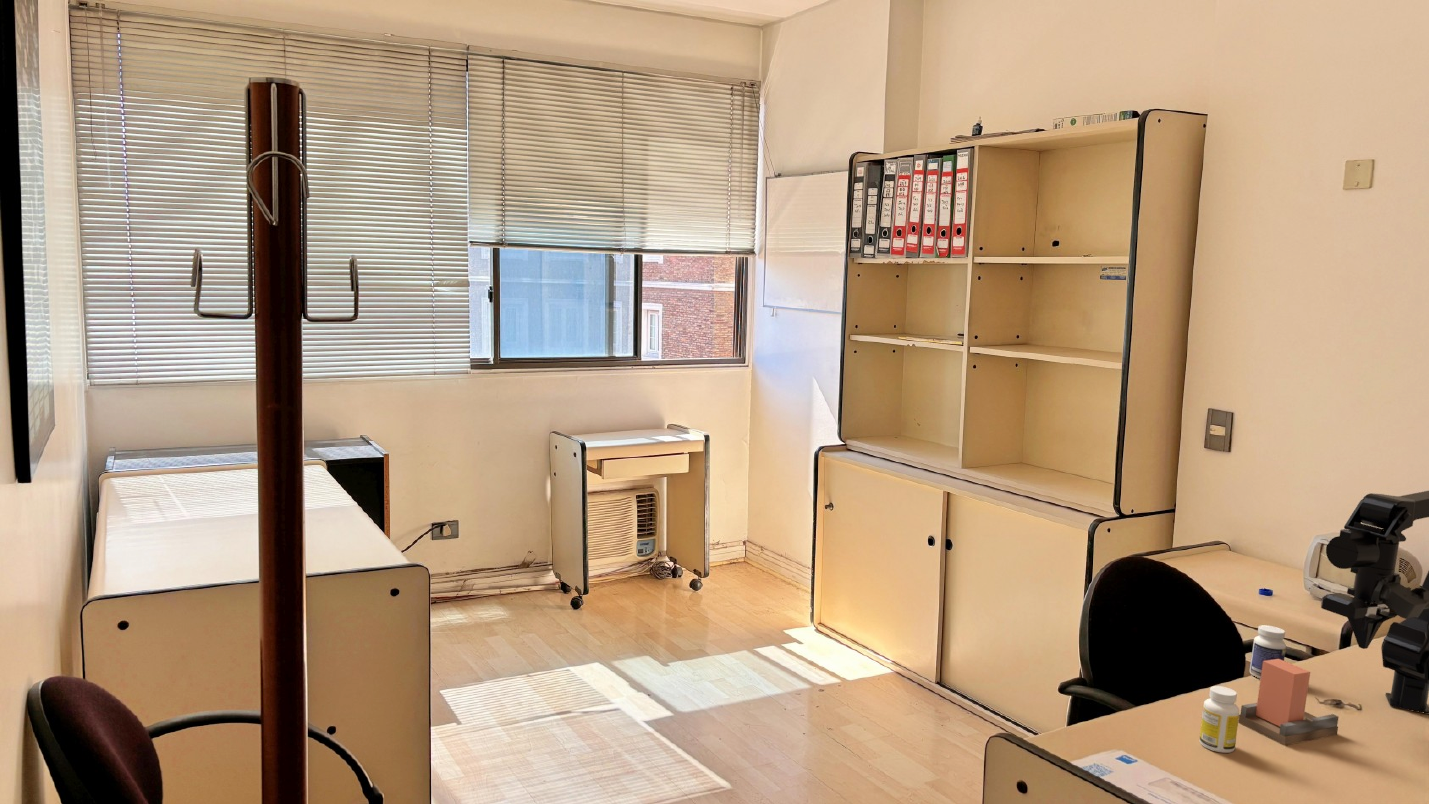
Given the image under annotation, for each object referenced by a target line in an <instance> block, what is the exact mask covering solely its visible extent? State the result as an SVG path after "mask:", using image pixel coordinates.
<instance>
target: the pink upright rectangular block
mask: <svg viewBox="0 0 1429 804" xmlns="http://www.w3.org/2000/svg"><path fill="white" fill-rule="evenodd" d="M1310 676H1311V671H1310V670H1307V669H1305V668H1302V667H1300V666H1298V665H1294V664H1292V663H1289V662H1288V661H1285V660H1284V661H1283V660H1281V659H1274V660H1267V661H1263V665H1262V673H1261V679H1259V680H1260V681H1259V687H1258V688H1259V689H1258V694H1257V702H1256V703H1257V708H1256V715H1257V716H1259V717H1261V718H1263V719H1265V720H1267V721H1269V722H1271V723H1273V724H1275V725H1277V726H1279V727H1280V726H1281V724H1284V723H1289V722H1294V721H1299V720H1303V719H1304V712H1306V704H1307V697H1308V690H1309V684H1310Z"/></svg>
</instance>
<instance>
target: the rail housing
mask: <svg viewBox="0 0 1429 804" xmlns="http://www.w3.org/2000/svg"><path fill="white" fill-rule="evenodd" d="M1256 708H1257V702H1254V703H1249V704H1242V705H1241V709H1240V713H1239V719H1238V724H1240V725H1242V726H1244V727H1246V728H1248V729H1251V730H1252V731H1255V732H1257V733H1258V734H1261V735H1263V736H1264V737H1266V738H1269V739H1271V740H1273V741H1274V742H1276V743H1278V744H1280V745H1283V746H1288V745H1293V744H1299V743H1303V742H1307V741H1314V740H1318V739H1323V738H1328V737H1333V736H1338V731H1339V730H1338V729H1339V725H1338V723H1339V716H1338V715H1336V714H1333V713H1332V714H1326V715H1321V716H1316V715H1314V714H1310V713H1309V712H1306V711H1305V712H1304V719H1303V720H1299V721H1294V722H1289V723H1284V724H1281V726H1280V727H1279V726H1277V725H1275V724H1273V723H1271V722H1269V721H1267V720H1265V719H1263V718H1261V717H1259V716H1257V715H1256Z"/></svg>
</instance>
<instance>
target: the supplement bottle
mask: <svg viewBox="0 0 1429 804" xmlns="http://www.w3.org/2000/svg"><path fill="white" fill-rule="evenodd" d="M1237 696H1238V692H1237V691H1236V690H1234V689H1232V688H1229V687H1226V686H1223V685H1222V686H1221V685H1213V686H1211V687H1210V689H1209V698H1207V699H1205V700H1204V702H1203V707H1202V714H1201V715H1202V717H1201V723H1200V724H1201V725H1200V731H1199V732H1200V733H1199V743H1200V744H1201V745H1202V746H1203V747H1204V748H1206V749H1208V750H1210V751H1213V752H1216V753H1223V754H1227V753H1233V752H1234V751H1235V749H1236V742H1237V733H1238V727H1239V725H1238V724H1239V723H1238V721H1239V715H1240V707H1239V706H1238V705H1237V704H1236V701H1237V698H1238V697H1237Z"/></svg>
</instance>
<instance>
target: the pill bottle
mask: <svg viewBox="0 0 1429 804" xmlns="http://www.w3.org/2000/svg"><path fill="white" fill-rule="evenodd" d="M1257 628H1258V629H1257V633H1258V635H1257V636H1255V637H1254V639H1253V642H1252V643H1253V644H1252V651H1251V658H1250V664H1249V673H1250V675H1251V676H1253V677H1254V676H1255V678H1256V677H1258V678H1257V679H1259V680H1261V673H1262V665H1263V661H1267V660H1274V659H1281V660H1283V661H1285V656H1286V651H1287V645H1286V643H1285V641H1284V640H1283V639H1285V637H1286V631H1285V630H1284V629H1282V628H1279V627H1276V626H1274V625H1273V626H1272V625H1268V624H1267V625H1266V624H1265V625H1262V624H1261V625H1258V627H1257Z"/></svg>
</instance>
